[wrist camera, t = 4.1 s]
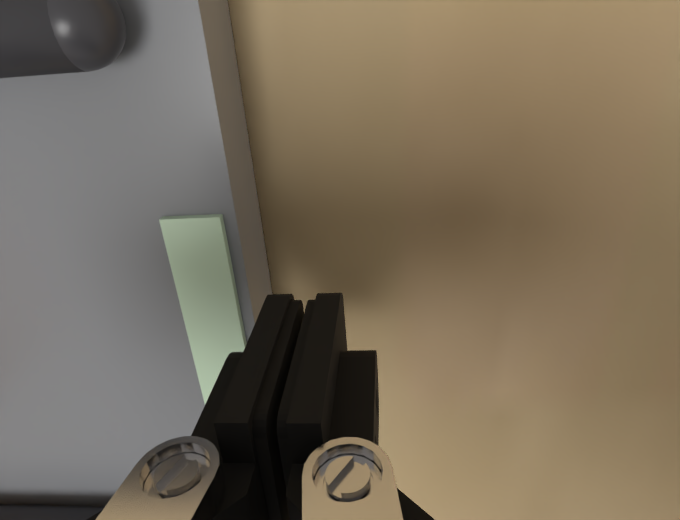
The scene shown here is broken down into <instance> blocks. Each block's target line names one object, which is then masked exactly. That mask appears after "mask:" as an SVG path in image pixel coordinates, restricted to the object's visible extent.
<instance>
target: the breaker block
mask: <svg viewBox="0 0 680 520" xmlns="http://www.w3.org/2000/svg"><path fill="white" fill-rule="evenodd" d="M267 295H273V294H272V287H271V281H270V274H269V268H268V261H267V255H266V248H265V242H264V235H263V229H262V222H261V215H260V209H259V202H258V196H257V189H256V183H255V176H254V170H253V163H252V157H251V150H250V144H249V137H248V131H247V124H246V117H245V111H244V104H243V98H242V91H241V85H240V78H239V72H238V65H237V59H236V52H235V46H234V39H233V33H232V26H231V19H230V13H229V6H228V0H0V520H86V519H88V518H90V517H91V516H93V515H95V514H97V513H98V512H100V511H102V510H103V509H104V507H105V506H106V505H107V503H108V502H109V501H110V499H111V498H112V496H113V495H114V494H115V492H116V491H117V490H118V488H119V487H120V486H121V484H122V483H123V481H124V480H125V479H126V477H127V476H128V475H129V473H130V472H131V470H132V469H133V468H134V466H135V465H136V464H137V462H138V461H139V460H140V459H141V458H142V457H143V456H144V455H145V454H146V453H147V452H148V451H150V450H151V449H153V448H154V447H156V446H157V445H159V444H161V443H163V442H165V441H168V440H170V439H173V438H178V437H182V436H191V435H192V433H193V430H194V428H195V426H196V424H197V422H198V419H199V417H200V415H201V413H202V411H203V408H204V406H205V404H206V402H207V400H208V398H209V395H210V393H211V391H212V389H213V387H214V384H215V382H216V380H217V378H218V376H219V373H220V371H221V369H222V367H223V365H224V363H225V360H226V358H227V357H228V355H229V353H231V352H243V351H244V349H245V347H246V344H247V342H248V339H249V337H250V335H251V332H252V330H253V327H254V325H255V323H256V320H257V318H258V315H259V313H260V311H261V308H262V306H263V303H264V301H265V299H266V296H267Z"/></svg>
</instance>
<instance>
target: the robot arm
mask: <svg viewBox="0 0 680 520" xmlns="http://www.w3.org/2000/svg"><path fill="white" fill-rule="evenodd" d="M378 433H379V395H378V369H377V353H376V350H368V351H347V341H346V329H345V316H344V304H343V295H342V293H318V294H317V296H316V300H308V302H307V305H306V309H305V313H304V309H303V303H302V301H301V300H294V297H293V295H292V294H274V295H267V296H266V299H265V301H264V303H263V306H262V308H261V311H260V313H259V315H258V318H257V320H256V323H255V325H254V327H253V330H252V332H251V335H250V337H249V339H248V342H247V344H246V347H245V349H244V351H243V352H231V353H229V355H228V357H227V358H226V360H225V363H224V365H223V367H222V369H221V371H220V373H219V376H218V378H217V380H216V382H215V384H214V387H213V389H212V391H211V393H210V395H209V398H208V400H207V402H206V404H205V406H204V408H203V411H202V413H201V415H200V417H199V419H198V422H197V424H196V426H195V428H194V430H193V433H192V435H191V436H182V437H178V438H173V439H170V440H168V441H165V442H163V443H161V444H159V445H157V446H156V447H154V448H153V449H151V450H150V451H148V452H147V453H146V454H145V455H144V456H143V457H142V458H141V459H140V460H139V461H138V462H137V464H136V465H135V466H134V468H133V469H132V470H131V472H130V473H129V475H128V476H127V477H126V479H125V480H124V481H123V483H122V484H121V486H120V487H119V488H118V490H117V491H116V492H115V494H114V495H113V496H112V498H111V499H110V501H109V502H108V503H107V505H106V506H105V507H104V509H103V510H102V511H100V512H98V513H97V514H95V515H93V516H91V517H90V518H88V519H86V520H434V519H433V518H432V517H431V516H430V515H428V514H427V513H426V512H425V511H424V510H423V509H421V508H420V507H419V506H418V505H417V504H415V503H414V502H413V501H412V500H411V499H409V498H408V497H407V496H406V495H405V494H403V493H402V492H401V491H400V490H399V489H398V488H397V487H396V482H395V477H394V472H393V467H392V464H391V462H390V459H389V457H388V455H387V454H386V453H385V452H384V451H383V450H382V448H381V447H380V446H378Z"/></svg>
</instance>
